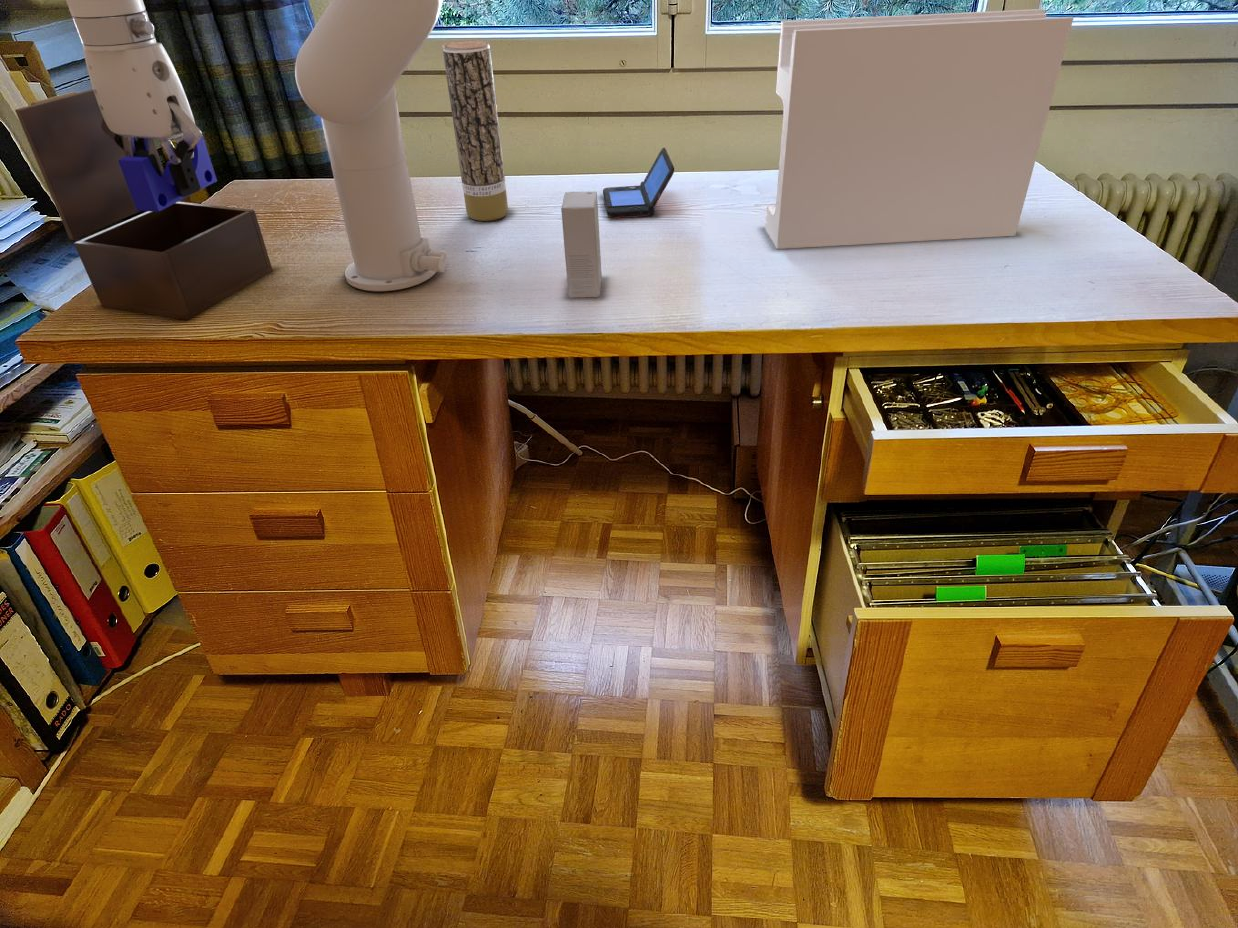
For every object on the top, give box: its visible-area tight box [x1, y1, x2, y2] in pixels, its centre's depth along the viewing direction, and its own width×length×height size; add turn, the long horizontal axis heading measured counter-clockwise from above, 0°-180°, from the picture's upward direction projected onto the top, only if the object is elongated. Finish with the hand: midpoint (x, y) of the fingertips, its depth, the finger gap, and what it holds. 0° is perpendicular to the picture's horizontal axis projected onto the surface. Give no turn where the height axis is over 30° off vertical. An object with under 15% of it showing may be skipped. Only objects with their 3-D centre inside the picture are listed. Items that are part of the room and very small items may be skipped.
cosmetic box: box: [561, 190, 603, 299], centre depth 104 cm, size 6×4×12 cm
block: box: [764, 8, 1074, 250], centre depth 112 cm, size 35×8×28 cm, turn 94°
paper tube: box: [441, 40, 509, 222], centre depth 125 cm, size 7×7×25 cm
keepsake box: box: [73, 201, 274, 321], centre depth 110 cm, size 15×17×9 cm
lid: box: [14, 88, 165, 240], centre depth 105 cm, size 16×17×5 cm
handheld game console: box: [602, 147, 675, 219], centre depth 132 cm, size 12×11×7 cm
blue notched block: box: [118, 134, 218, 212], centre depth 102 cm, size 12×4×6 cm, turn 168°
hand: (171, 190), depth 103 cm, fingers closed on blue notched block, 5 cm apart
